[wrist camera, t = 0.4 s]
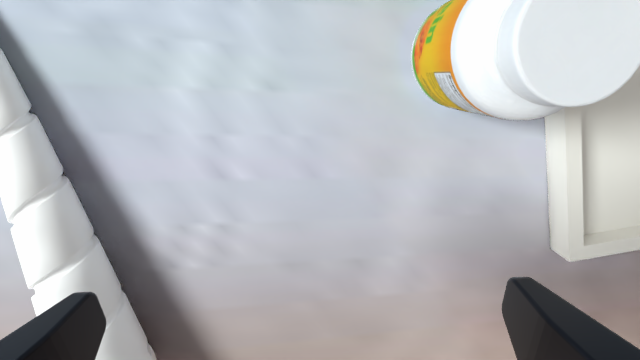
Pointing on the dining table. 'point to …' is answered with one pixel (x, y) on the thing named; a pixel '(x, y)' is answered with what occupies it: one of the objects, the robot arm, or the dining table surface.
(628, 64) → the supplement bottle
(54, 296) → the unicorn horn
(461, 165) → the dining table surface
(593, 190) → the dish
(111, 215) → the dining table surface
